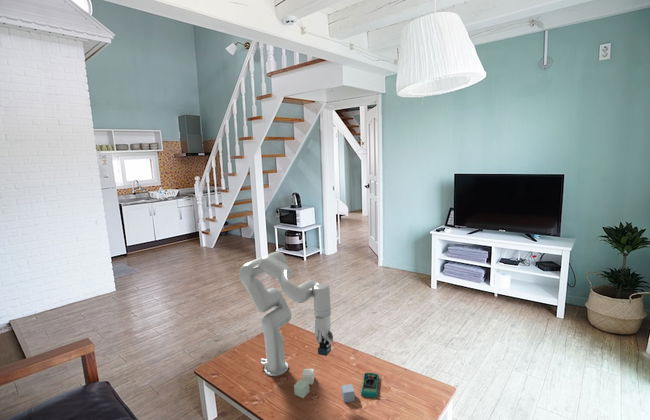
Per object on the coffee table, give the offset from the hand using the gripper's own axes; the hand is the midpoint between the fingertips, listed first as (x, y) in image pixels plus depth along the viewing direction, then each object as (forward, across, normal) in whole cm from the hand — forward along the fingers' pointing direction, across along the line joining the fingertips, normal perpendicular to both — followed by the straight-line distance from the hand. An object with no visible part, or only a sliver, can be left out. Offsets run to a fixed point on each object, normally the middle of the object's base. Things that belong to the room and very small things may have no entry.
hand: (324, 347), depth 159 cm
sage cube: (+22, +5, -11) cm, 25 cm away
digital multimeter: (+23, -7, +20) cm, 31 cm away
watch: (+2, 0, 0) cm, 2 cm away
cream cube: (+22, -4, -11) cm, 25 cm away
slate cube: (+22, +3, +11) cm, 25 cm away
